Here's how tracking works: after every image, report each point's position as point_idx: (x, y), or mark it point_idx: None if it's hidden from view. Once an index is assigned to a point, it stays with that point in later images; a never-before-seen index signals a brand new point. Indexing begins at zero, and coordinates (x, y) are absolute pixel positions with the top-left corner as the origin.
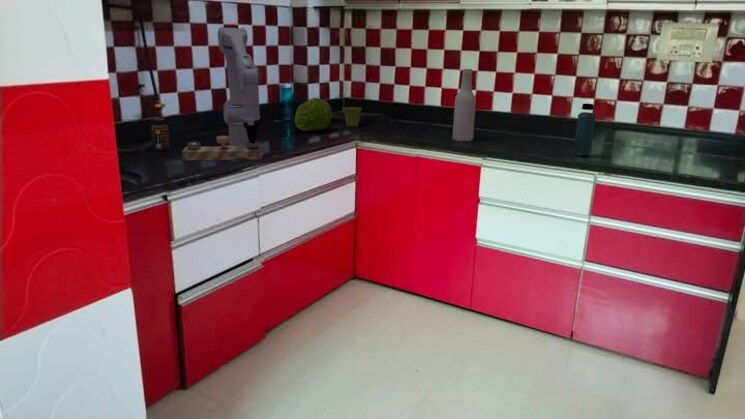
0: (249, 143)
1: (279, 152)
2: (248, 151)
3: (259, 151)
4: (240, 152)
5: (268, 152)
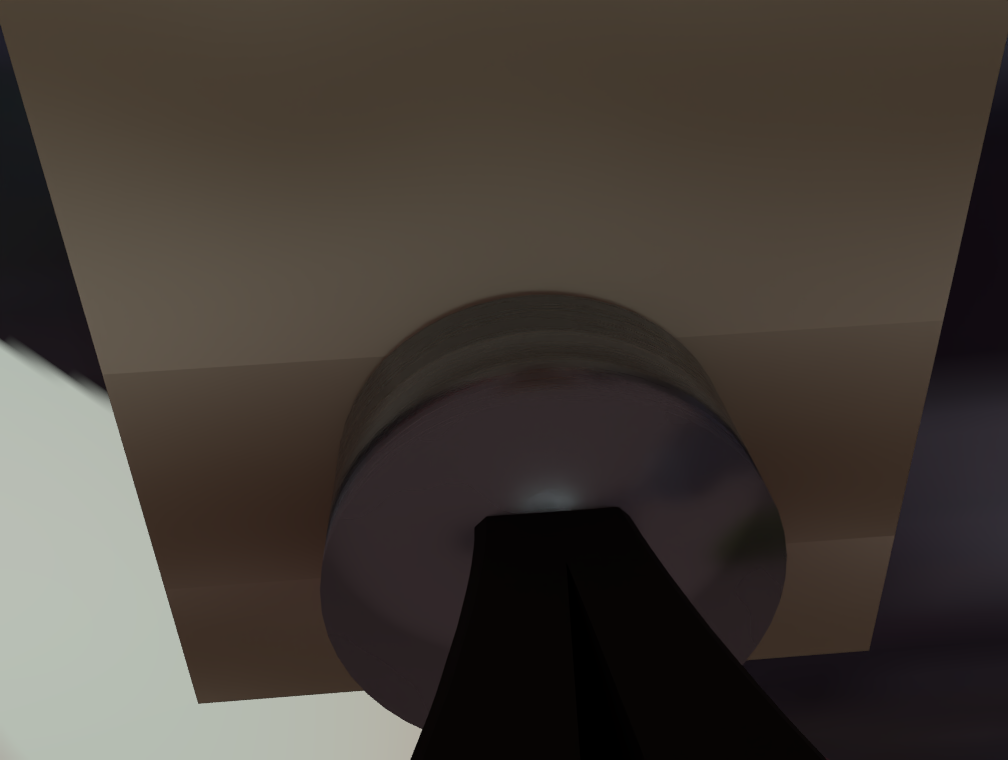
0: (326, 536)
1: (907, 738)
2: (110, 386)
3: (182, 638)
4: (56, 122)
5: (961, 583)
